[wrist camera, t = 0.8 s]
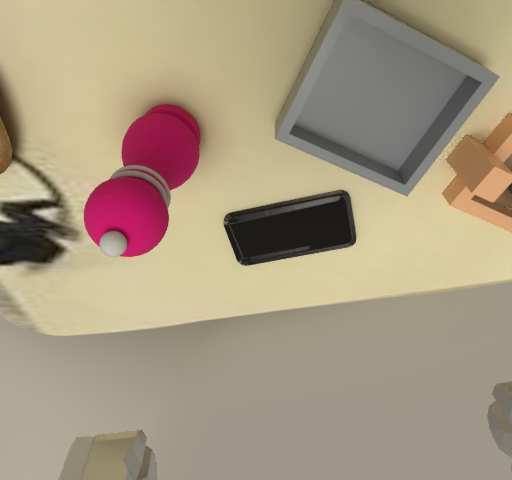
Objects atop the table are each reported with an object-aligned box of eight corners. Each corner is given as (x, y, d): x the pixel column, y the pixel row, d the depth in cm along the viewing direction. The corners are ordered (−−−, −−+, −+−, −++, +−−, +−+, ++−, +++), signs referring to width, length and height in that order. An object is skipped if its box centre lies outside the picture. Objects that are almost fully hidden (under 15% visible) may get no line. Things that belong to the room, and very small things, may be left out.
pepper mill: (219, 132, 43) (185, 251, 27) (178, 177, 46) (127, 306, 30) (162, 83, 40) (86, 184, 24) (123, 135, 44) (34, 253, 28)
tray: (340, -12, 35) (346, -7, 32) (481, 65, 38) (499, 76, 35) (275, 124, 42) (275, 138, 39) (398, 178, 45) (407, 196, 42)
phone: (221, 218, 49) (349, 191, 46) (222, 212, 49) (347, 186, 47) (239, 267, 53) (357, 246, 50) (240, 262, 54) (356, 240, 51)
